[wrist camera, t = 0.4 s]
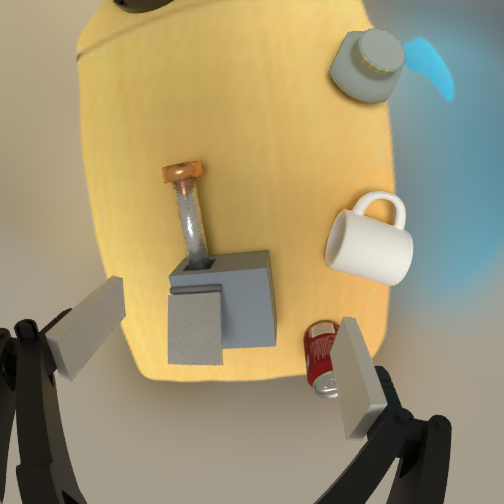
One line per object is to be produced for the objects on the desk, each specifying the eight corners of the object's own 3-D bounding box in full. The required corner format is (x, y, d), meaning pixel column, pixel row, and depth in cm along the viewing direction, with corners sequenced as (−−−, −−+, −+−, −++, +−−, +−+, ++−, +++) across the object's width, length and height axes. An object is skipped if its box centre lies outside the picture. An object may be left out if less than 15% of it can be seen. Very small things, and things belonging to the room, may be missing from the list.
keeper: (171, 296, 36) (168, 295, 35) (221, 293, 35) (219, 292, 34) (170, 364, 33) (168, 363, 32) (223, 364, 32) (221, 364, 31)
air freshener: (373, 115, 33) (401, 103, 24) (320, 87, 33) (333, 65, 23) (396, 59, 30) (424, 37, 20) (346, 32, 29) (364, 2, 20)
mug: (378, 272, 40) (397, 296, 33) (321, 255, 40) (330, 277, 33) (406, 200, 36) (431, 210, 29) (347, 177, 36) (363, 181, 29)
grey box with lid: (184, 258, 43) (166, 278, 35) (268, 250, 41) (266, 270, 34) (200, 324, 46) (187, 351, 39) (276, 320, 44) (276, 349, 37)
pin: (170, 167, 37) (155, 168, 32) (205, 160, 37) (194, 160, 32) (190, 272, 42) (179, 287, 37) (223, 269, 41) (216, 284, 37)
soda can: (304, 319, 44) (310, 368, 33) (345, 318, 43) (361, 366, 32) (302, 351, 46) (305, 402, 35) (339, 350, 46) (351, 399, 34)
